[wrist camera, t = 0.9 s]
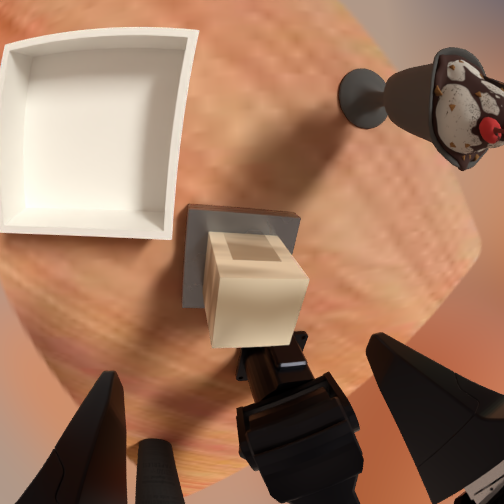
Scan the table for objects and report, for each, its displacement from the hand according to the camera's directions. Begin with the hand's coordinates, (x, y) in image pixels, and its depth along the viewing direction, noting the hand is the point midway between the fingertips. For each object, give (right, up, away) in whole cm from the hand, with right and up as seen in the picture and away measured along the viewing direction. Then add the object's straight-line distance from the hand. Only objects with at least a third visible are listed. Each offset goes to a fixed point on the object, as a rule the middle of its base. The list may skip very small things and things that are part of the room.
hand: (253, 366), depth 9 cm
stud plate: (-1, +3, +14) cm, 14 cm away
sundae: (+9, +16, +10) cm, 20 cm away
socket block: (-1, +3, +13) cm, 13 cm away
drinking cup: (-14, -24, +25) cm, 37 cm away
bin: (-10, +12, +7) cm, 17 cm away
